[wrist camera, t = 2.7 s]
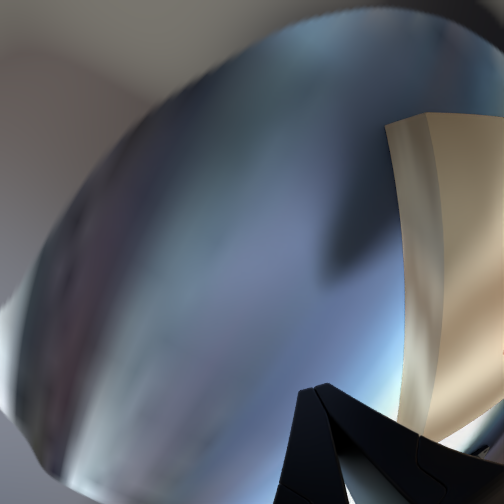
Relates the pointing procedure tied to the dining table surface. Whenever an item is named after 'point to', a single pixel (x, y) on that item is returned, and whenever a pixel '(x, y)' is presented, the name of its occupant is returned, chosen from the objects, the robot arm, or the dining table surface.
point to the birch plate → (450, 267)
